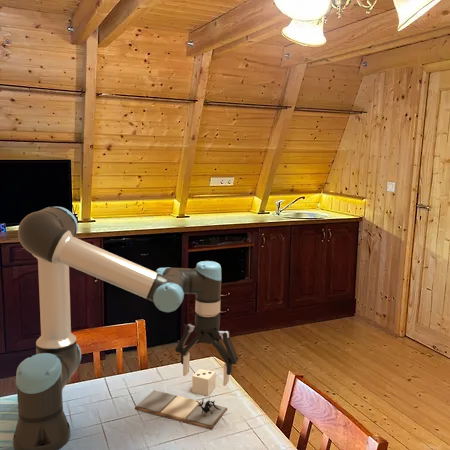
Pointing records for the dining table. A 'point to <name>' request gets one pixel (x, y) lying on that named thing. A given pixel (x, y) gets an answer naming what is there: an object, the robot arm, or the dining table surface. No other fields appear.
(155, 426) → the dining table surface
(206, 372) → the die
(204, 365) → the dining table surface
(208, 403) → the creature
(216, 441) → the dining table surface
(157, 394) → the board
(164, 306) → the robot arm
